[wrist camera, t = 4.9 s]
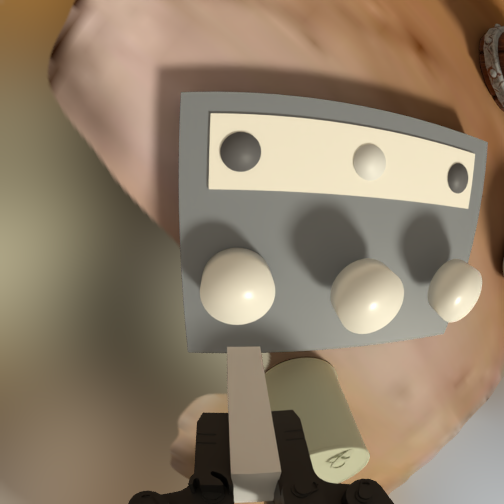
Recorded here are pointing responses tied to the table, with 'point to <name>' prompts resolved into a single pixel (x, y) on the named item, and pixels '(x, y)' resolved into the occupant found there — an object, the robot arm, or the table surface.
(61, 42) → the table surface
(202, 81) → the table surface
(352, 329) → the button middle
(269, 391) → the can
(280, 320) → the button board
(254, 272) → the button
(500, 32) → the mug
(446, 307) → the button
